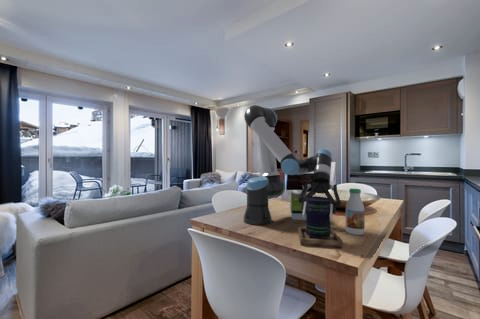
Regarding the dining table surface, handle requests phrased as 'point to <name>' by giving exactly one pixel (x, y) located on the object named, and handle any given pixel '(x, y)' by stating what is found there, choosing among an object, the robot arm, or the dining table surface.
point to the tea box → (296, 205)
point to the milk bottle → (355, 213)
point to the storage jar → (318, 217)
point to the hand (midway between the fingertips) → (317, 217)
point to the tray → (319, 239)
